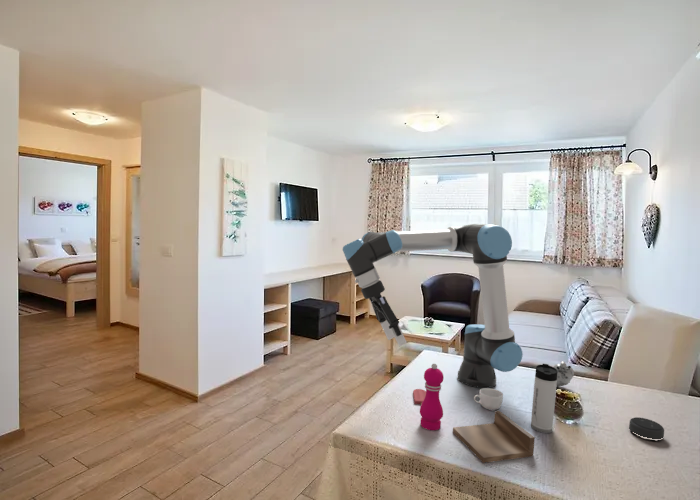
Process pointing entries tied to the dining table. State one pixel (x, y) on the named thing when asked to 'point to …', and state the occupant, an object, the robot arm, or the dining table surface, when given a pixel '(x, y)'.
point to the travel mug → (544, 398)
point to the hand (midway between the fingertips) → (397, 341)
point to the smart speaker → (646, 428)
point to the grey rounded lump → (563, 374)
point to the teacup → (490, 398)
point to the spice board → (497, 439)
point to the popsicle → (419, 396)
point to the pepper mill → (432, 399)
